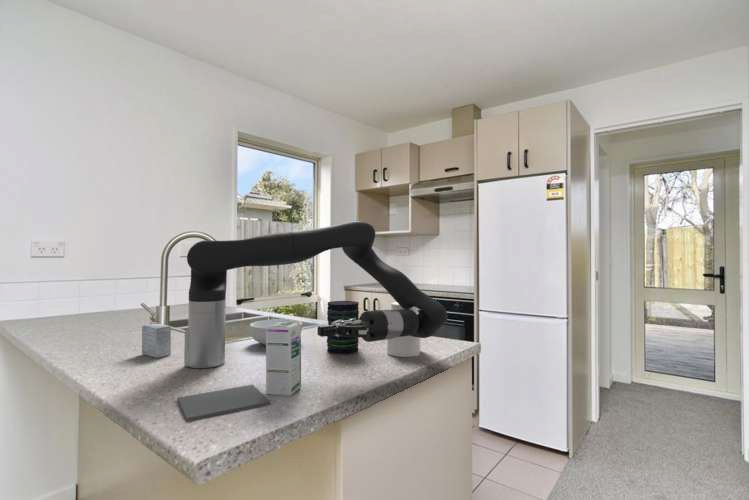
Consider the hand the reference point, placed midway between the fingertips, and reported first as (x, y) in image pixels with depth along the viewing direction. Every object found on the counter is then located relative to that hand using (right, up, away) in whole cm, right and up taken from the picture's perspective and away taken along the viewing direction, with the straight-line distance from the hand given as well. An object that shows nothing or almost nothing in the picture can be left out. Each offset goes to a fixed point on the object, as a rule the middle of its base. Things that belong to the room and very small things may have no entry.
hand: (319, 331), depth 90 cm
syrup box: (-7, -12, -5) cm, 15 cm away
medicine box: (-51, -12, +25) cm, 58 cm away
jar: (+22, -13, +30) cm, 40 cm away
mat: (-17, -12, -12) cm, 24 cm away
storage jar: (+3, -13, +32) cm, 34 cm away
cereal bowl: (-20, -13, +40) cm, 47 cm away
